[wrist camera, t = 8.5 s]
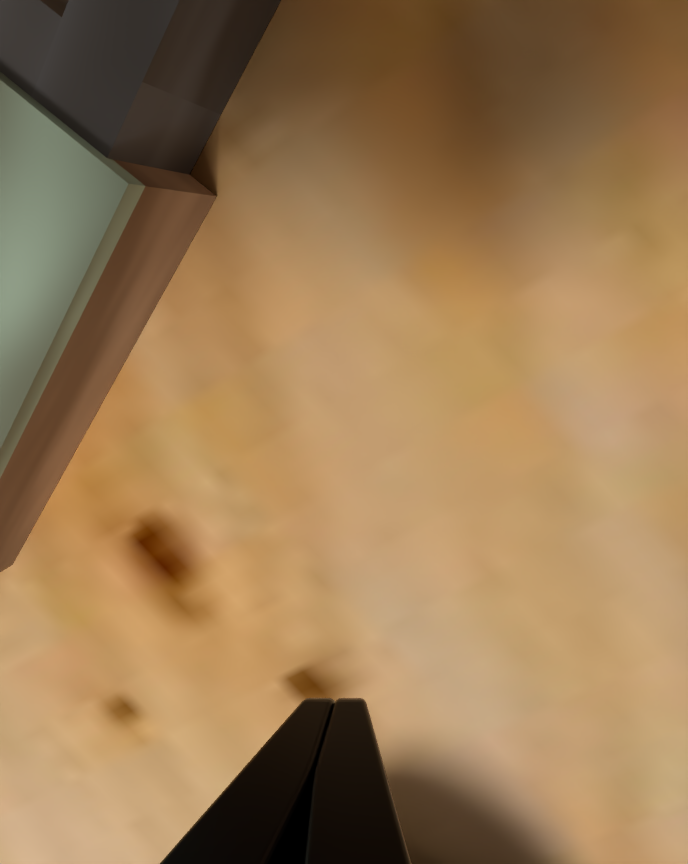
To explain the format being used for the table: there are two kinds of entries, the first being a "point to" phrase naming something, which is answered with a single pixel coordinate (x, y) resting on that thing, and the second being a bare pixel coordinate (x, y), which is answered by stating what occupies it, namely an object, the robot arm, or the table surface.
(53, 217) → the toolbox
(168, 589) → the table surface
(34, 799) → the table surface
